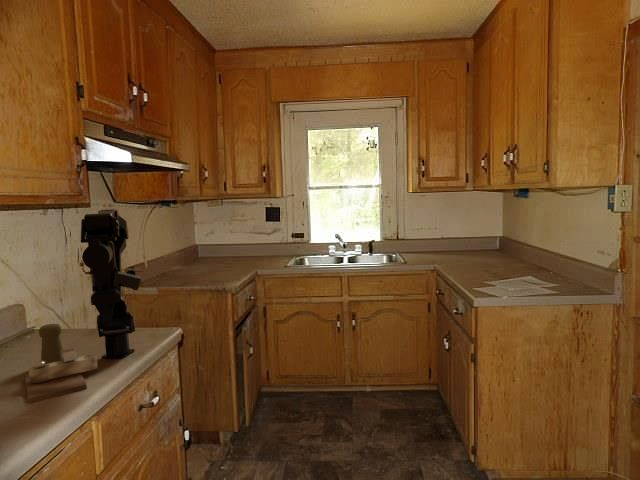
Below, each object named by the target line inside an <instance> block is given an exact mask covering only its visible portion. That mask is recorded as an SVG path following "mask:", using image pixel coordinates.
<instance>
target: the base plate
mask: <svg viewBox="0 0 640 480" xmlns="http://www.w3.org/2000/svg"><path fill="white" fill-rule="evenodd" d="M24 380H25V385H26V386H25V387H26V392H27V393H26V394H27V400H28V403H33V402H37V401H42V400H45V399H49V398H54V397H57V396H62V395H66V394H70V393H74V392H79V391H83V390H87V389H88V386H87V383H86V381H85V379H84V376H83V374H82V372H80V373H76V374H71V375H67V376H62V377H58V378H54V379H49V380H47V381H44V382H40V383H31V382H30V377H29V373H28V374H24Z"/></svg>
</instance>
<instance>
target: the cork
mask: <svg viewBox="0 0 640 480" xmlns="http://www.w3.org/2000/svg"><path fill="white" fill-rule="evenodd" d="M61 333H62V328H61V326H60V324H58V323H49V324H45V325H42V326H41V327H40V328H39V329H38V335H39V337H40V338H41V350H40V353H41V354H40V361H41V360H44V361H45V364H49V363H53V362H58V361H60V353H59V350H63V349H64V348H63V344H62V340H61V336H60V335H61Z"/></svg>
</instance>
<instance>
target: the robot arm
mask: <svg viewBox="0 0 640 480" xmlns="http://www.w3.org/2000/svg"><path fill="white" fill-rule="evenodd" d="M80 223H81V224H80V243H81V244H86V243H87V247H86V248H85V249H84V250H83V251H82V255H81V259H82V262H83V264H84V265H85V266H86V267H88V268H89V269H90V275H91V284H92V285H91V287H92V288H91V289H92V293H91V295H90V303H91V306H94V307H95V308H96V310H97V312H98V313H99V314H98V315H97V316H96V326H97V331H98V337H99V338H103V337H104V347H105V348H104V349H105V354H103V355H101V359H124V358H126V357H127V356H129V355H131V353H133V352H136V349H135V348H130V339H129V334H132V333H133V332H136V326H135V325H136V324H135V319H134V316H133V315H132V313H131V311H129V307H128V305H127V303H126V302H125V300H124V299H123V287H124V288H127V289H132V290H134V291H139V289H140V285H141V281H142V276H140V275H138V274H137V273H136V271H135V270H134V269H130V268H128V270H127V271H126V272H125V271H123V272H122V254H123V253H124V251H125V250H126V248H127V240H129V228H128V223H127V220H125V219H124V218H123V217H122V216H120V215H119V211H118V209H115V208H111V209H100V210H98V212H97V213H85V214H84V216H83V218H82V219H81V221H80Z"/></svg>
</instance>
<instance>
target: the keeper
mask: <svg viewBox="0 0 640 480" xmlns="http://www.w3.org/2000/svg"><path fill="white" fill-rule="evenodd" d="M59 353H60V361H64V362H66V361H70V360H75V359H78V357H79V356H78V353H77V352H76V351H75V350H74V348H73V347H69V348H65V349H64V348H63V350H59ZM44 366H46V364H45V361H44V360H41V359H40V360H37V361H34V362H32V367H33V368H42V367H44Z"/></svg>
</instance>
